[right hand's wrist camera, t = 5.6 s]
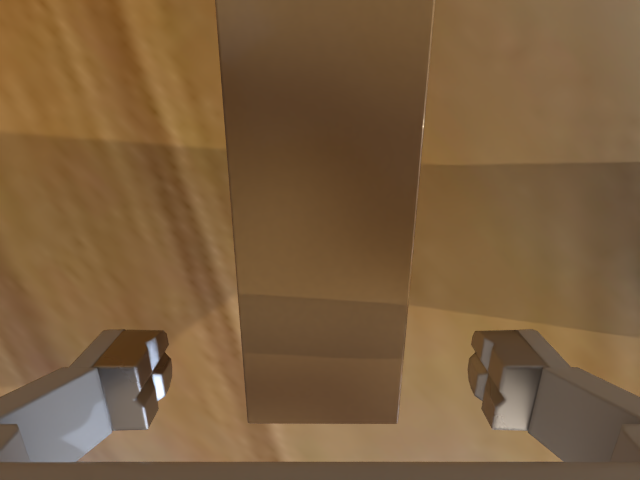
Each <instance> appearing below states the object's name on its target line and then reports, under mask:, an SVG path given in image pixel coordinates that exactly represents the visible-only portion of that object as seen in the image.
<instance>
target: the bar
mask: <svg viewBox="0 0 640 480" xmlns="http://www.w3.org/2000/svg"><path fill="white" fill-rule="evenodd" d="M215 6H216V18H217V31H218V44H219V57H220V70H221V83H222V96H223V109H224V122H225V135H226V148H227V161H228V174H229V186H230V199H231V212H232V225H233V238H234V251H235V264H236V277H237V290H238V303H239V316H240V329H241V341H242V354H243V367H244V380H245V393H246V406H247V419H248V423H278V424H397V423H398V416H399V405H400V393H401V382H402V371H403V359H404V348H405V337H406V325H407V314H408V303H409V291H410V280H411V269H412V258H413V246H414V235H415V224H416V212H417V201H418V190H419V178H420V167H421V156H422V145H423V133H424V122H425V111H426V99H427V88H428V77H429V65H430V54H431V43H432V31H433V20H434V9H435V0H215Z"/></svg>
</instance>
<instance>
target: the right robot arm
mask: <svg viewBox="0 0 640 480" xmlns="http://www.w3.org/2000/svg"><path fill="white" fill-rule="evenodd" d="M168 345H169V343H168V338H167V334H166V333H165V332H164V331H163V330H124V329H122V330H105V331H103V332H102V333H101V334H100V335H99V336H98V337H97V338H96V339H95V340H94V341H93V342H92V343H91V344H90V345H89V346H88V348H87V349H86V350H85V351H84V352H83V353H82V354H81V355H80V356H79V357H78V358H77V359H76V360H75V361H74V362H73V364H72V365H71V366H70V367H67V368H60V369H58V370H56V371H54V372H52V373H50V374H48V375H46V376H44V377H41V378H39V379H37V380H35V381H33V382H31V383H29V384H27V385H25V386H23V387H20V388H18V389H16V390H14V391H12V392H10V393H8V394H6V395H4V396H1V397H0V480H640V397H638V396H636V395H634V394H632V393H630V392H628V391H626V390H624V389H622V388H619V387H617V386H615V385H613V384H611V383H609V382H607V381H605V380H603V379H601V378H598V377H596V376H594V375H592V374H590V373H588V372H586V371H584V370H582V369H580V368H573V367H570V366H569V365H568V364H567V362H566V361H565V360H564V359H563V358H562V357H561V356H560V355H559V354H558V353H557V352H556V351H555V350H554V349H553V347H552V346H551V345H550V344H549V343H548V342H547V341H546V340H545V339H544V338H543V337H542V336H541V335H540V334H539V332H538V331H535V330H533V329H527V330H500V331H475V332H474V335H473V337H472V343H471V345H472V347H473V348H474V350H475V353H474V354H473V355H472V356H471V357H470V358H469V363H468V378H469V383H470V386H471V389H472V391H473V393H474V395H475V396H476V397H477V398H479V399H480V400H482V401H483V402H482V408H481V409H482V411H483V413H484V415H485V417H486V418H487V420H488V422H489V424H490V426H491V428H492V430H526V431H528V433H529V434H531V435H532V436H533V437H534V438H536V439H537V440H538V441H539V442H540V443H542V444H543V445H544V446H545V447H547V448H548V449H549V450H550V451H551V452H553V453H554V454H555V455H556V456H558V457H559V458H560V459H561V460H563V461H564V462H76V461H78V460H79V459H80V458H81V457H83V456H84V455H85V454H86V453H87V452H89V451H90V450H91V449H92V448H94V447H95V446H96V445H97V444H98V443H100V442H101V441H102V440H103V439H105V438H106V437H107V436H108V435H110V434H111V433H112V431H114V430H148V428H149V426H150V424H151V422H152V420H153V418H154V417H155V415H156V413H157V411H158V409H159V408H158V402H157V401H158V400H160V399H161V398H163V397H164V396H165V395H166V393H167V391H168V389H169V387H170V383H171V378H172V363H171V358H170V357H169V356H168V355H167V354H166V353H165V350H166V348H167V347H168Z"/></svg>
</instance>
